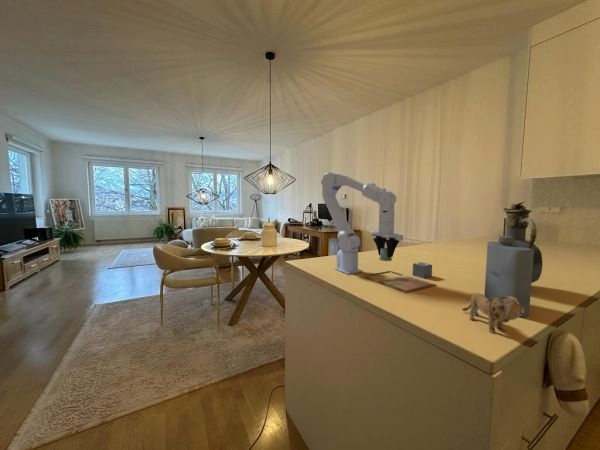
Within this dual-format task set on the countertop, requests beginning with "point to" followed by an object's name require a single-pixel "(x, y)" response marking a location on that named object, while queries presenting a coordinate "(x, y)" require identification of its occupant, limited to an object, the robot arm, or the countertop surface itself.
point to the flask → (509, 271)
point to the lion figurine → (495, 309)
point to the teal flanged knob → (384, 255)
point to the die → (422, 270)
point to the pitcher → (524, 234)
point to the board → (402, 282)
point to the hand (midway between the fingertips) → (385, 256)
